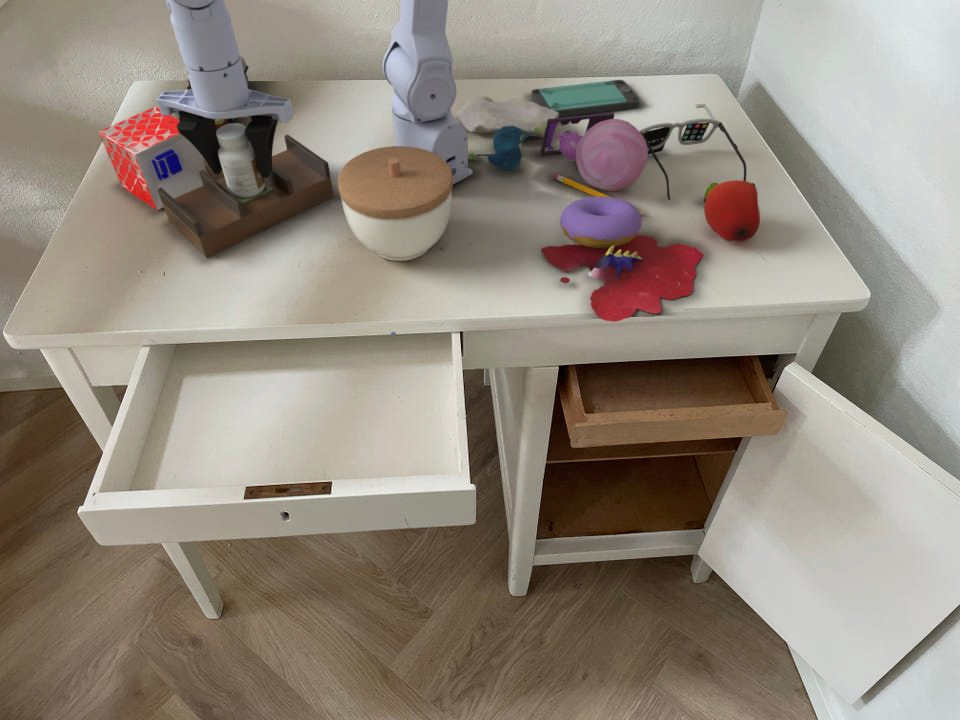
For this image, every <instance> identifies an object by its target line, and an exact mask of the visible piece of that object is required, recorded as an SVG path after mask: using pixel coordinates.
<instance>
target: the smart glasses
mask: <svg viewBox="0 0 960 720" xmlns="http://www.w3.org/2000/svg"><path fill="white" fill-rule="evenodd" d="M694 106H695V108H696V109H704V110H705V112H706V113H707V115H708V116H709V118H695V119H689V120H685V121H683V122H675V123H671V122H664V123H657V124H652V125H649V126H647V127H644V128H642V129H640V130H638V131H639V132H640V133H641V134H642V136H643V137H644V139H645V141H646V144H647V149H648V155H652V157H653V159H654V160H655V162H656V163H657V165H658V167H659V169H660V170H661V172H662V173H663V176H664V178H665V183H666V197H667V200H668V201H670V200H671V194H670V182H669V177H668V174H667V172H666V170H665V167H664V166H663V164H662V163H661V161H660V159H659V158H658V156H657V154H656V153H661V152H663V150H664V149H665V148H664V147H665V145H666V144H667V142H668V140H669V138H670V137H671V134H672V132H673V131H674V129H675V128H678V131H677V141H678V142H679V144H680V145H682V146H691V145H699V144H703V143H705V142H707V141H709V139H710V138H711V137H712V135H713V134H714V132H715V131H716V130H717V129H718V128H719V130H720V132H722V133H724V135H725V137H726V138H727V140H728V142H729V143H730V145H731V147H732V148H733V150H734V152H735V153H736V155H737V156H738V159H739V160H740V161H741V163H742V166H743V167H742V168H743V180H742V181H747V170H748V169H747V163H746V160H745V158H744V156H743V155H742V154H741V151H740V150H739V149H738V145H737V144H736V143H735V142H734V140H733V139H732V137H731V135H730V134H729V132H728V130H727V129H726V127H725V126H724V124H723V122H722V121H720V120H717V119H716V118H715V116H714V114H712V112H711V110H710V109H709V106H707V104H706V103H696V104H695V105H694ZM710 124H712V127H711V129H710V130H709V132H708V134H707V135H706V136H705V134H706V132H707V130H708V128H709V125H710ZM683 130H684V132H683ZM704 136H705V137H704Z"/></svg>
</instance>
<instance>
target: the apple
mask: <svg viewBox="0 0 960 720" xmlns="http://www.w3.org/2000/svg"><path fill="white" fill-rule="evenodd" d="M756 187H757V186H756V184H755V183H754V182H750V181H747V180H746V181H743V180H733V179H732V180H726V181H721V182H720V183H719V182H711V183H710V184H709V185H708V187H706V189H705V191H704V196H703V203H704V207H703V210H704V217H705V220H706V222H707V224H708V226H709V228H710V229H711V230H712V231H713V232H714V233H715V234H717V235H718V236H719V237H720V238H721V239H723V240H725V241H727V242H746V241H748V240H750V239H752V238H753V237H754V236H756V233H757V231H758V230H759V227H760V225H761V211H760V206H759V198H758V197H759V196H758V190H757V188H756Z"/></svg>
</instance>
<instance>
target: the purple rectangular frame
mask: <svg viewBox="0 0 960 720" xmlns="http://www.w3.org/2000/svg"><path fill="white" fill-rule="evenodd" d="M615 116H616V115H615V112H614V111H609V112H599V113H590V114H582V115H574V116H566V117H558V118H555V117H552V118H550V119H548V120H547V127H546V129H545V133H544V137H542V143H541V147H540V155H541V156H548V155H556V154H557V155H558V154H562V155H563V157H565V158H566V159H568V160H570V161H573V162H576V148H577V145H578V143H579V141H580V140H581V138H582V137H583V135H580V134H579V133H578V132H576V131H573V130H567V131H566V130H565V131H561V133H558V135H557V136H555V138H554V134H555V130H556V129H557V127H558V125H559V124H560V125H561V126H568V125H569V124H570V123H571V125H578V124H579V123H580V122H581V121H584V120H588V123H587V126H586V129H585V132H584V134H585V133H586V132H587V131H588V130H589V129H590V128H591V127H593V126H594V125H595V124H597V123H599V122H602V121H605V120H609V119H615ZM553 138H554V140H557V139H559V140H558V141H559V149H555V150H554V147H553V146H552V142H553ZM546 148H547V150H546Z"/></svg>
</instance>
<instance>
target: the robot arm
mask: <svg viewBox="0 0 960 720" xmlns="http://www.w3.org/2000/svg"><path fill="white" fill-rule="evenodd" d="M165 4H166V7H167V9H168V11H169V13H170V23H171V25H172V29H173V33H174V35H175V39H176V43H177V46H178V49H179V52H180V55H181V59H182V62H183V64H184V68H185V71H186V74H187V79H188V78H189V81H190V84H191V87H192V89H191V90H163V91H162V92H161V93H160V94H159V95H158V97H157V98H156V99H155V100H156V103H157V106H158V109H160V112H161V115H163V116H170V115H171V116H172V115H173V113H178V114H179V117H180V118H179V120H180V121H179V123H178V124H177V129H178V131H179V133H180V134H181V135H183V136H184V137H185V138H186V139H187V140H189V141H190V142H191V143H192V144H193V145H194V146H195V148H196V149H197V150H198V151H199V152H200V154H201V156H202V159H204V161H205V162H206V164H207V165H208V167H209V168H210V170H211V171H212V174H214V175H217V176H219V175H220V174H221V173H222V172H223V170H222V166H221V163H220V160H219V157H218V150H219V148H220V147H221V146H220V145H219V143H218V139H217V135H216V131H217V130H216V124H215V119H228V118H235V119H236V118H249V119H250V120H251V121H249V122H248V123H247V126H245V127H246V129H245V130H244V132H245V135H246V136H247V138H248V140H249V142H250V144H251V146H252V148H253V150H254V153H255V156H256V160H257V164H258V168H259V172H260V174H261V176H262V178H268V177H269V175H270V173H271V171H272V169H273V168H272V156H273V150H274V149H273V147H274V140H275V134H276V131H277V126H278V122H279V123H281V124H282V123H284V124H288V123H290V121H291V119H292V118H293V116H294V111H293V106H292V101H291V98H289V97H281V96H276V95H271V94H268V93H264V92H261V91H257V90H254V89H250V88H248V86H247V82H246V78H245V74H244V70H243V66H242V62H241V58H240V56H241V55H240V51H239V47H238V42H237V38H236V36H235V31H234V25H233V23H232V19H231V14H230V11H229V9H228V8H227V7H226V4H225V0H165ZM448 6H449V0H400V10H399V21H398V22H397V23H396V24H395V26H394V27H393V28H392V30H391V37H390V43H389V45H388V49H387V50H386V52H385V54H384V56H383V60H382V73H383V76H384V78H385V80H386V81H387V82H388V84H389V85H390V86H392V87H393V94H392V99H391V103H390V106H391V117H392V118H391V119H392V128H393V137H394V138H393V139H394V146H408V147H415V148H420V149H424V150H428V151H430V152H432V153H434V154H436V155H438V156H440V157H441V158H442V159H443V160H444V161H445V162H446V163H447V164H448V165H449V167H450V169H451V171H452V175H453V185H455V184H457V183H458V182H460V181H463V180H465V179H466V178H468V177H470V176H472V175H473V174H474V172H473V171H474V170H473V169H471V168H470V167H469V159H468V152H469V138H468V137H469V136H468V131H467V129H466V128H465V127H464V125H463V124H461V122H460V121H458V119H457V118H456V117H455V116H454V114H453V112H452V107H453V106H454V104H455V102H456V98H457V84H456V82H455V78H454V76H453V63H454V62H453V61H454V59H453V54H452V51H451V48H450V45H449V39H448V36H447V33H446V28H447V27H446V25H447V16H448V8H449V7H448Z"/></svg>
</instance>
